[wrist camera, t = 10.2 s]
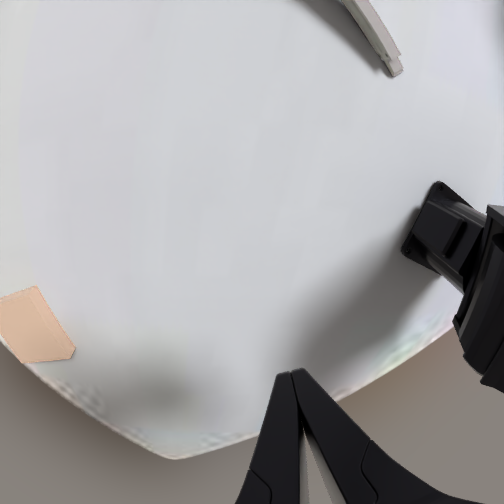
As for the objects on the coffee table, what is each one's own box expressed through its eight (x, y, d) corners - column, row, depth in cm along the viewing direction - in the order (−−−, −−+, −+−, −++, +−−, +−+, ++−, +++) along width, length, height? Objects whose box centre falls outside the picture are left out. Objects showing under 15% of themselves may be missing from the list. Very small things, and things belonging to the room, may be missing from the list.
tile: (28, 294, 18) (-16, 308, 18) (70, 358, 21) (21, 363, 21) (39, 282, 20) (-6, 298, 20) (77, 344, 23) (29, 351, 23)
